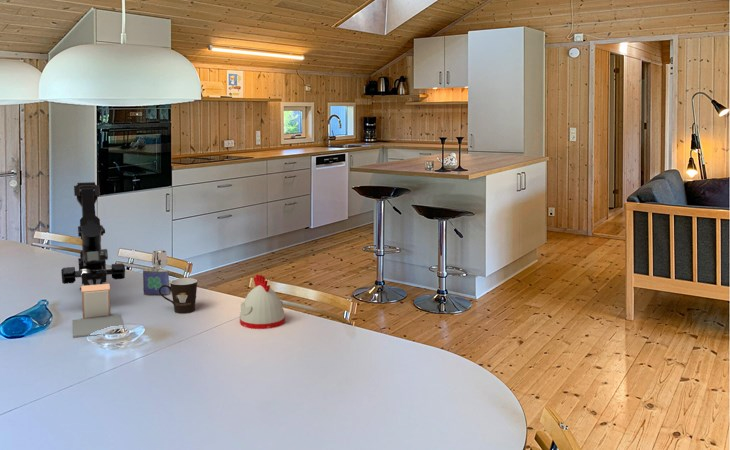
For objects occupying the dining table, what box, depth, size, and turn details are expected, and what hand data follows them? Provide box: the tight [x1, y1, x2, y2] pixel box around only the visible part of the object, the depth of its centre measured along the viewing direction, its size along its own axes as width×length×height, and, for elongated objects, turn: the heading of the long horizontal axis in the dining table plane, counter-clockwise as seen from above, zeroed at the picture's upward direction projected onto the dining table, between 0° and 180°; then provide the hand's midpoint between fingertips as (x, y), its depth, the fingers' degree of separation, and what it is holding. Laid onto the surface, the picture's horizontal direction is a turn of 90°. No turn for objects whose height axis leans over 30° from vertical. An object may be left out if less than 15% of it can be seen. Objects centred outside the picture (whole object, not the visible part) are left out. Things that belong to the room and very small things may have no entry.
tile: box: [80, 283, 111, 319], centre depth 200 cm, size 3×8×12 cm
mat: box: [71, 314, 124, 339], centre depth 194 cm, size 16×14×1 cm
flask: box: [142, 265, 170, 297], centre depth 228 cm, size 9×3×11 cm, turn 87°
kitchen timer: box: [239, 274, 286, 330], centre depth 200 cm, size 14×14×15 cm
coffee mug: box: [159, 277, 198, 315], centre depth 211 cm, size 12×9×10 cm
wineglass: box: [151, 249, 169, 270], centre depth 245 cm, size 6×6×12 cm
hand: (95, 296), depth 202 cm, fingers closed
